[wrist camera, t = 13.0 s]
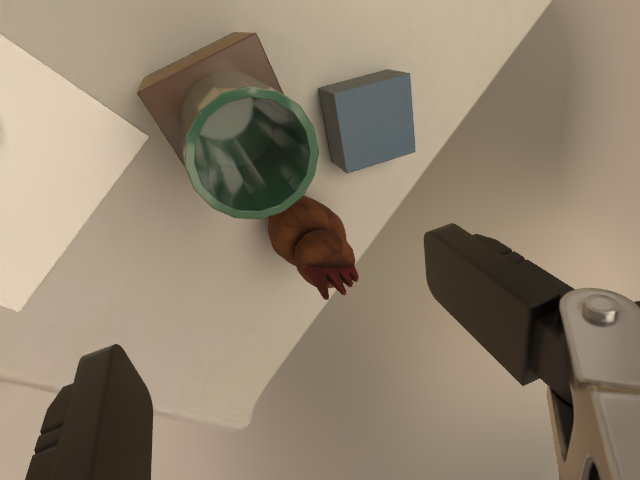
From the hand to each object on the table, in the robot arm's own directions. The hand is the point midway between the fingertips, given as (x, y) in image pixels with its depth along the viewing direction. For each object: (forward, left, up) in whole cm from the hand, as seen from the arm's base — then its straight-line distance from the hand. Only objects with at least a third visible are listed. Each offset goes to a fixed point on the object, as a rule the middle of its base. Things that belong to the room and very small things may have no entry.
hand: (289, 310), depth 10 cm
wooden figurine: (+11, +5, -28) cm, 31 cm away
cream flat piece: (-2, -19, -28) cm, 34 cm away
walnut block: (-1, +1, -28) cm, 28 cm away
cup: (-1, +1, -19) cm, 19 cm away
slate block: (+4, +14, -28) cm, 32 cm away
